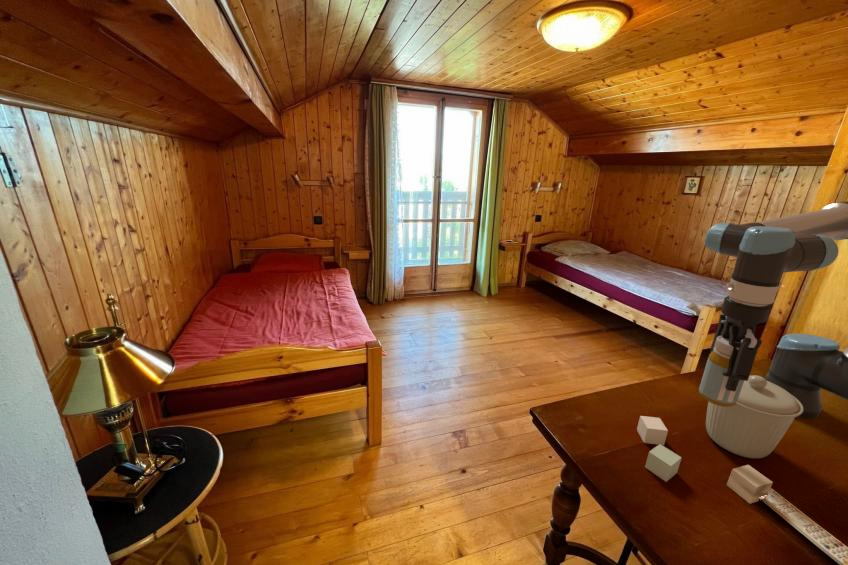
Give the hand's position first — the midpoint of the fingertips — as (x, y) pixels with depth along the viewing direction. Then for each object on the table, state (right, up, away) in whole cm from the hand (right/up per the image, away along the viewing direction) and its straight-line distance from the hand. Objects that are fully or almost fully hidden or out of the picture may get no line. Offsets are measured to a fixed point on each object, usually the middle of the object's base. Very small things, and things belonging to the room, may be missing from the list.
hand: (718, 391), depth 82 cm
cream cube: (-6, -18, +16) cm, 24 cm away
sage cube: (-10, -21, +5) cm, 24 cm away
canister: (+16, -19, +14) cm, 28 cm away
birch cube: (+6, -23, 0) cm, 24 cm away
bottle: (0, -2, +1) cm, 2 cm away
